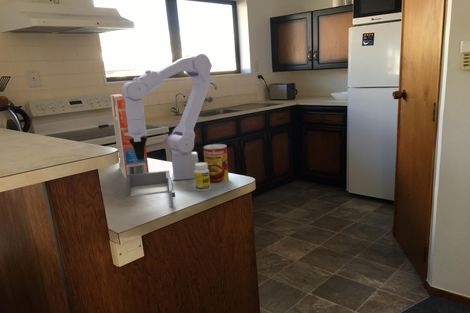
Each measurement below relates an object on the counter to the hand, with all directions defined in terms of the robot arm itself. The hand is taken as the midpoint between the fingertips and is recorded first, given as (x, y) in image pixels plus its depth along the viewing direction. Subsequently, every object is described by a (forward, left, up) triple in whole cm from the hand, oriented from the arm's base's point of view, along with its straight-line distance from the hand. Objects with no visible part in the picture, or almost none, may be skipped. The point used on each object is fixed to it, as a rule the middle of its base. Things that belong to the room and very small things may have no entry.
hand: (140, 159), depth 126 cm
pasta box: (+5, -21, -10) cm, 23 cm away
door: (-9, +17, -9) cm, 22 cm away
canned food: (-25, +3, -10) cm, 27 cm away
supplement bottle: (-19, +11, -10) cm, 24 cm away
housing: (-2, +5, -9) cm, 11 cm away
